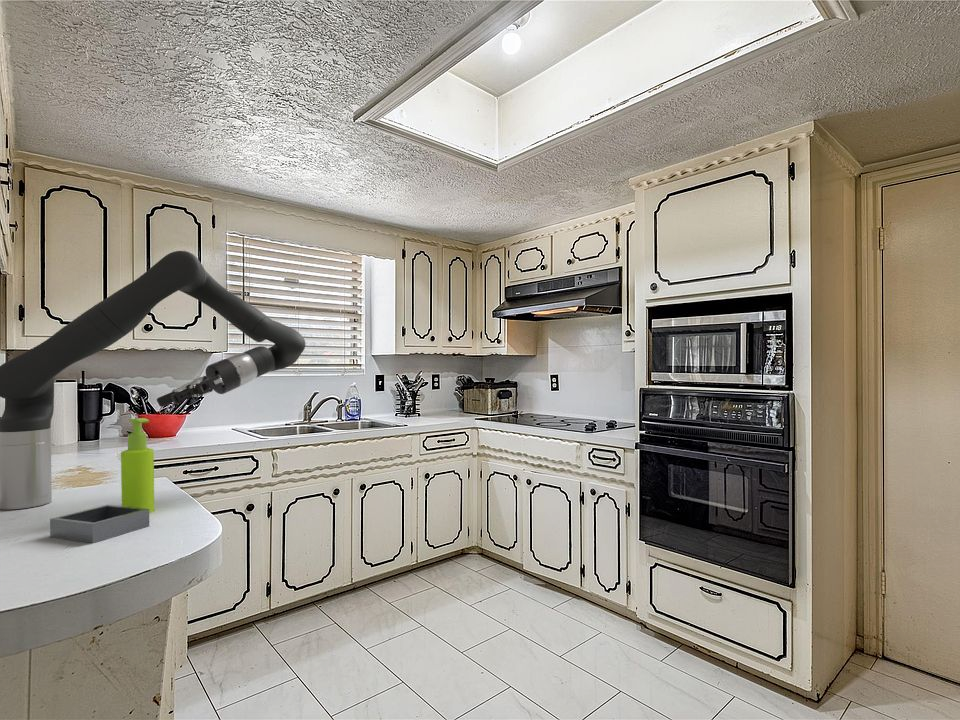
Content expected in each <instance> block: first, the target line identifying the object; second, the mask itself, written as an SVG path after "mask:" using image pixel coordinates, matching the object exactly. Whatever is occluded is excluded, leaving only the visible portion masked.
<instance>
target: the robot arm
mask: <svg viewBox="0 0 960 720" xmlns="http://www.w3.org/2000/svg"><path fill="white" fill-rule="evenodd" d="M178 291H179V292H182V293H184V294H186V295H188V296H189V297H192V298H194V299H195V300H197V301H199V302H200V303H202V304H204V305H206V306H207V307H208V308H210V309H212V310H213V311H215V312H216V313H217V314H219V315H220V316H221V317H222V318H223V319H225V320H226V321H227V322H229V323H230V324H232V326H233V327H235V328H236V329H238V330H239V331H241V332H242V333H243V334H245V335H246V336H247V337H248V338H250V339H251V340H253V341H255V342H256V343H262V342H264V341H266V340H267V341H268V342H270V343H273V345H272V346H270V347H266V346H264V345H263V346H261V345H259V346H255V347H253V348H251V349H249V350H246V351H244V352H243V351H242V352H240V353H236V354H233V355H230V356H228V357H226V358H223V359H221V360H219V361H216V362H213V363H211V364H209V365H208V366H206V368H205V375H203V376H199V377H197V378H194V379H193V380H192V381H189V382H186V383H184V384H182V385H181V386H179V387H178V388H174V389H172V390H171V391H170V392H168V393H166V394H163V395H161V396H159V397H157V398H156V402H157V404H158V406H159V407H161V408H163V407H166V406H167V405H170V404H173V403H174V404H175V405H178V404H180V403H183V402H185V401H187V400H189V399H192V398H197V397H201V396H204V395H206V394H210V393H212V392H213V391H214V392H215V393H216V394H218V395H225V394H227V393H229V392H232V390H233V391H234V390H235V389H237V388H239V387H242V386H244V385H246V384H248V383H249V382H252V381H253V380H254V379H256V378H259V377H261V376H264V375H265V374H267V373H270V372H274V371H279V370H283V369H286V368H288V367H290V366H292V365H294V364H295V363H296V362H297V360H299V358H300V356H301V355H302V354H303V352H304V350H305V348H306V340H305V339H304V337H303V335H302V334H301V333H300V332H299V331H298V330H296V329H294V328H292V327H290V326H287V325H286V324H284V323H281V322H278V321H276V320H273V319H271V318H270V317H269V316H267V315H266V314H265V313H264V312H262V311H261V310H259V309H258V308H257V307H255V306H254V305H252V304H250V303H249V302H247V301H246V300H244V299H242V298H241V297H239V296H238V295H235V294H234V293H233V292H231V291H229V290H228V289H227V288H225V287H224V286H222V285H221V284H220V283H219V282H218V281H217V280H216V279H215V278H213V276H212V275H211V274H210V273H209V272H208V271H206V270H205V268H204V266H203V264H202V262H201V261H200V260H199V258H198V257H197V256H196V255H195V254H193V253H191V252H189V251H187V250H176V251H172V252H169V253H168V254H166V255H164V256H163V257H162V258H161V259H159V260H158V261H157V262H156V263H155V264H153V265H152V266H151V267H150V268H149V269H147V270H146V271H145V272H144V273H143V274H142V275H140V276H139V277H137V278H136V279H134V280H133V281H131V282H130V283H128V284H126V285H125V286H123V287H122V288H120V289H118V290H117V291H115V292H113V294H111V295H109V296H107V297H106V298H104V299H103V300H101V301H99V302H98V303H96V304H95V305H93V306H92V307H90V308H88V310H86V311H84V312H82V313H81V314H80V315H79V316H76V318H74V319H73V320H72V321H71V322H69V323H68V324H66V325H64V326H63V327H62V328H61V329H59V330H58V331H56V332H55V333H53V334H52V336H50V337H49V338H47V339H46V340H45V341H43V342H41V343H40V344H38V345H36V346H34V347H32V348H30V349H29V350H26V351H25V352H23V353H21V354H19V355H18V356H15V357H13V358H11V359H9V360H8V361H6V362H4V363H2V364H1V365H0V398H2V399H5V400H4V401H5V402H4V410H3V413H2V415H1V416H0V510H8V511H9V510H19V509H21V510H22V509H27V508H28V509H29V508H35V507H38V506H44V505H47V504H49V503H51V502H52V501H53V495H52V494H53V493H52V491H53V490H52V441H51V439H52V437H51V433H52V432H51V430H52V429H51V428H52V426H51V425H52V424H51V422H52V418H53V414H54V410H55V409H54V407H55V380H54V378H55V377H56V376H57V375H58V374H60V373H61V372H63V371H64V370H66V369H67V368H68V367H70V366H72V365H73V364H75V363H77V362H80V361H81V360H84V359H86V358H89V357H91V356H93V355H95V354H97V353H99V352H101V351H104V349H106V348H108V347H110V346H112V345H113V344H115V343H116V342H118V341H120V340H121V339H122V338H124V337H125V336H127V335H128V334H129V333H130V332H131V333H132V331H134V329H136V327H138V326H139V324H140V323H141V322H142V321H144V319H145V318H146V317H147V315H148V314H149V313H150V312H151V310H153V309H154V308H155V307H156V306H157V305H158V304H159V303H160V302H162V301H163V300H164V299H167V298H168V297H169V296H171V295H173V294H175V293H177V292H178Z"/></svg>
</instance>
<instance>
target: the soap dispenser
mask: <svg viewBox="0 0 960 720" xmlns="http://www.w3.org/2000/svg"><path fill="white" fill-rule="evenodd" d="M129 422H130V423H132V428H131V430H132V432H130V434H129V433H128V434H127V449H126V450H122V451H121V452H120V469H121V471H120V472H121V473H120V475H121V479H120V481H121V506H126V507H135V508H145V509H149V514H150V513H153V512H155V465H154V464H155V463H154V462H155V460H154V459H155V458H154V456H155V455H154V454H155V453H154V451H155V450H154V449H153V448H149V447H148V445H147V442H148V439H147V436H148V435H147V433H146V432H145V431H143V424H148V423H150V420H149V419H147V418H145V417H141V418H140V417H139V418H130V419H129Z"/></svg>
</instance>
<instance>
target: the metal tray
mask: <svg viewBox="0 0 960 720" xmlns="http://www.w3.org/2000/svg"><path fill="white" fill-rule="evenodd" d="M148 527H150V513H149V509H145V508H135V507H126V506H122V505H114V504H106V505H102V506H98V507H94V508H90V509H86V510H85V509H84V510H82V511H78V512H77V511H76V512H73V513H68V514H66V515H60V516H57V517H52V518H50V519H49V538H54V539H60V540H69V541H76V542H83V543H89V544H95V543H98V542H101V541H104V540H108V539H111V538H114V537H119V536H120V535H124V534H128V533H130V532H134V531H138V530H141V529H144V528H148Z"/></svg>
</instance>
